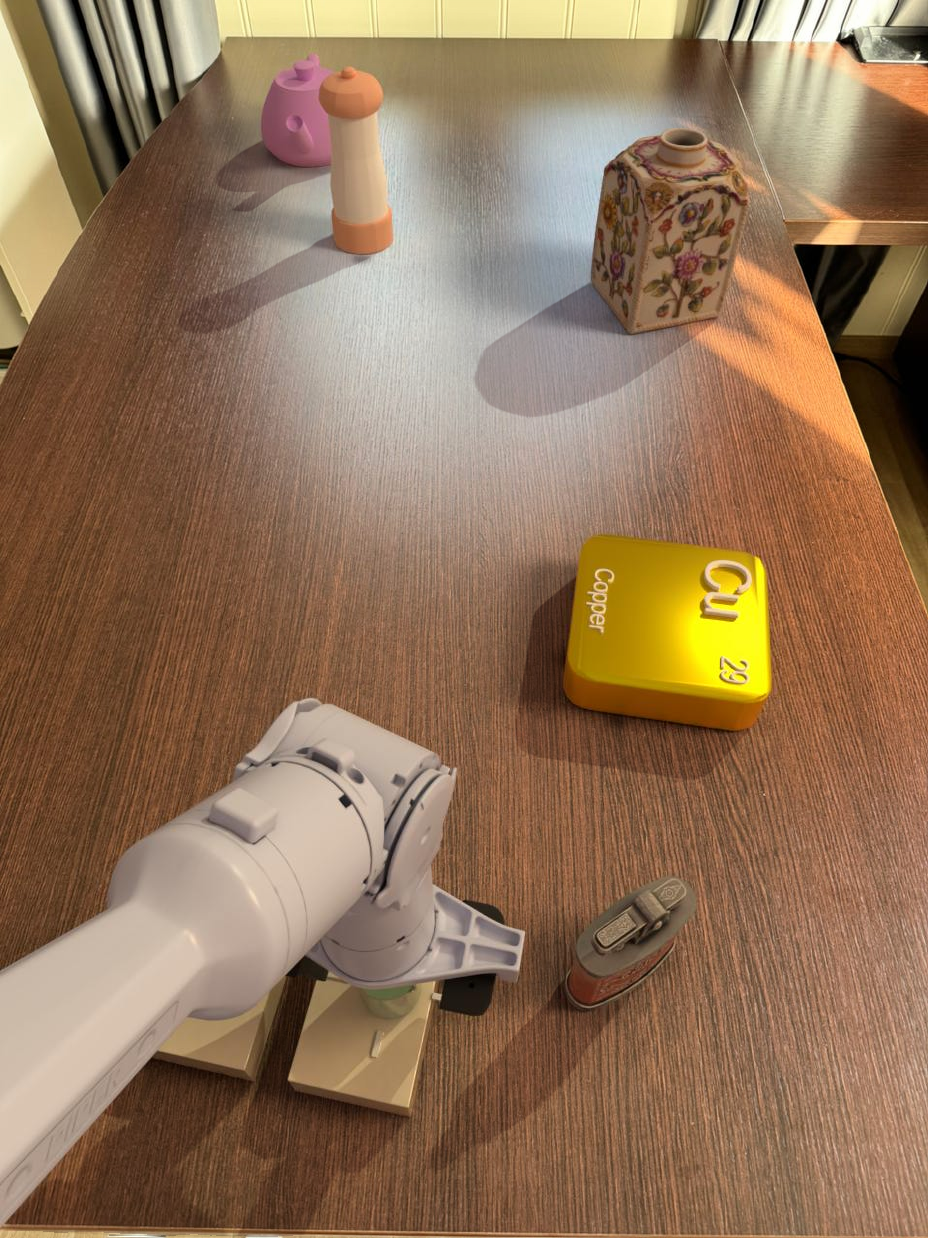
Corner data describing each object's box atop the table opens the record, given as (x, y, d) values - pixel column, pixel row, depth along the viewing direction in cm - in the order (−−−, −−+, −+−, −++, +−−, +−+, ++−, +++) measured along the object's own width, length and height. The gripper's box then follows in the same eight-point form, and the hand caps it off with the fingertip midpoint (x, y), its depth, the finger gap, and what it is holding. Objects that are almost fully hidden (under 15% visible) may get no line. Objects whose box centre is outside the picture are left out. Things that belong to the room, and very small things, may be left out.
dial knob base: (434, 1123, 51) (433, 1113, 49) (294, 1091, 52) (286, 1080, 50) (474, 919, 59) (474, 901, 56) (350, 894, 60) (345, 876, 57)
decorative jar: (627, 337, 98) (656, 172, 84) (585, 281, 105) (605, 118, 90) (725, 318, 100) (768, 153, 86) (678, 264, 107) (711, 103, 93)
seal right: (413, 1025, 52) (410, 1005, 48) (353, 1012, 52) (346, 991, 49) (427, 963, 54) (425, 939, 51) (369, 951, 54) (363, 926, 51)
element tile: (577, 562, 78) (584, 524, 74) (753, 585, 76) (769, 548, 72) (559, 707, 69) (565, 672, 65) (758, 737, 67) (776, 702, 63)
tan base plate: (254, 1081, 53) (243, 1070, 50) (121, 1051, 54) (104, 1038, 51) (314, 887, 60) (308, 868, 57) (196, 863, 61) (185, 844, 58)
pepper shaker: (339, 221, 113) (321, 52, 98) (397, 224, 112) (387, 55, 97) (329, 252, 108) (307, 80, 93) (388, 256, 108) (376, 83, 93)
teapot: (251, 184, 118) (235, 98, 110) (275, 117, 131) (262, 34, 122) (355, 186, 118) (347, 100, 110) (369, 118, 130) (363, 36, 122)
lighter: (650, 908, 59) (679, 845, 51) (685, 952, 57) (720, 894, 49) (552, 977, 56) (567, 922, 49) (585, 1025, 55) (606, 976, 47)
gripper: (540, 837, 42) (524, 932, 53) (248, 782, 44) (290, 885, 55) (516, 990, 38) (504, 1060, 49) (194, 922, 40) (251, 1005, 51)
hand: (389, 976), depth 51 cm, fingers open, 7 cm apart
